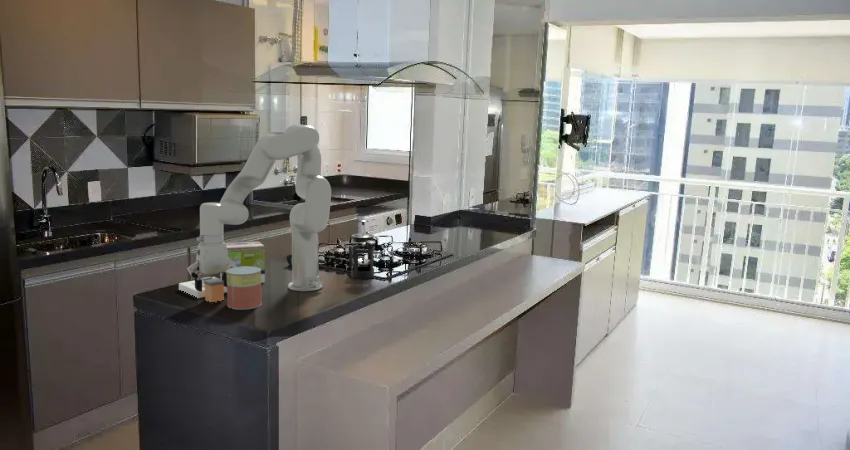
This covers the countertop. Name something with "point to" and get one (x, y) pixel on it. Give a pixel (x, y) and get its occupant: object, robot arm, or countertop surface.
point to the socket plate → (190, 288)
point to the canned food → (244, 287)
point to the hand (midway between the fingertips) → (212, 288)
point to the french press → (362, 271)
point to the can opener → (289, 260)
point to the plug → (214, 290)
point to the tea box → (247, 255)
